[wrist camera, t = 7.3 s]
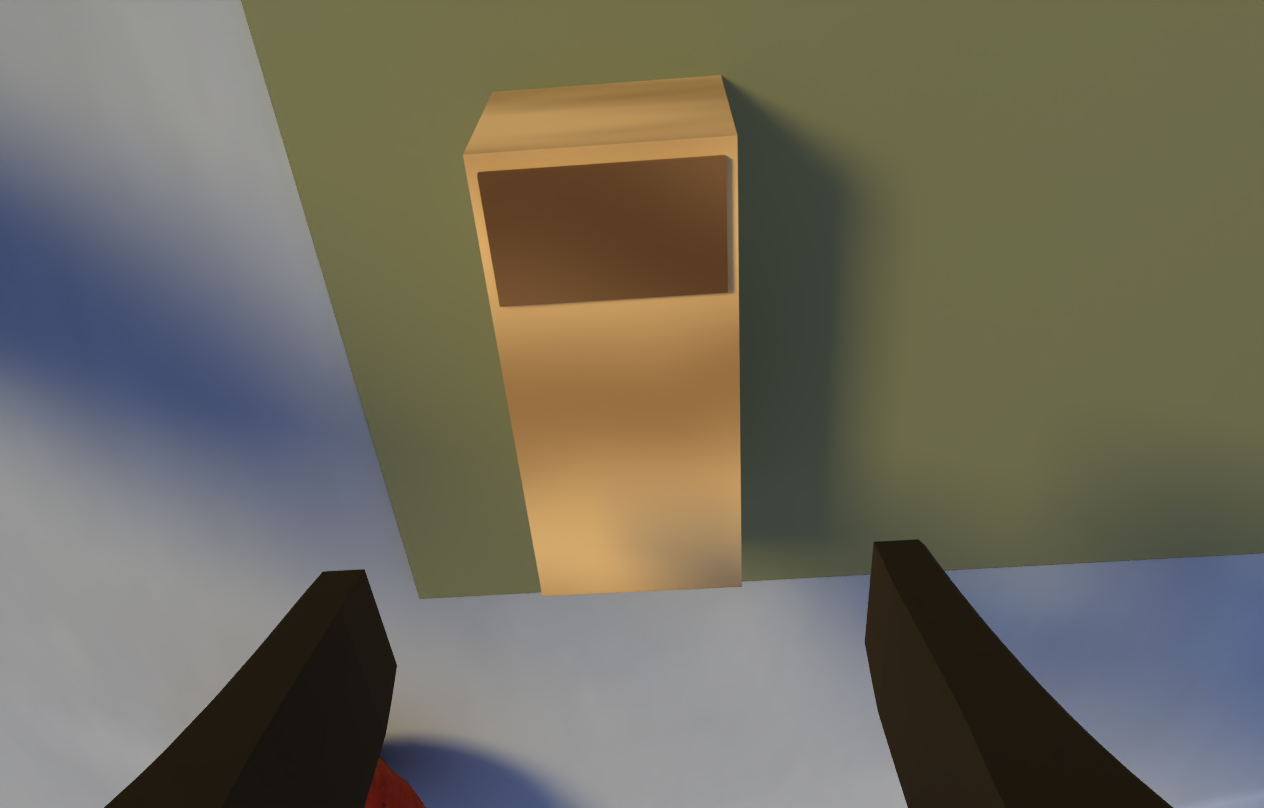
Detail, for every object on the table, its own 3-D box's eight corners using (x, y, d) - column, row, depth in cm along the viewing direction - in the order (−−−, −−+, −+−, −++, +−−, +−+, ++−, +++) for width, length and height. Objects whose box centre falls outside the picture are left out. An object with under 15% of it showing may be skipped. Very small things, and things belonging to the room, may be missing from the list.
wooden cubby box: (728, 482, 23) (742, 591, 20) (554, 491, 23) (541, 601, 20) (721, 75, 18) (738, 138, 14) (492, 92, 18) (461, 157, 15)
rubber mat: (1612, -158, 16) (1633, -156, 15) (1305, 539, 25) (1315, 550, 24) (240, -32, 17) (232, -29, 17) (422, 588, 26) (419, 599, 26)
